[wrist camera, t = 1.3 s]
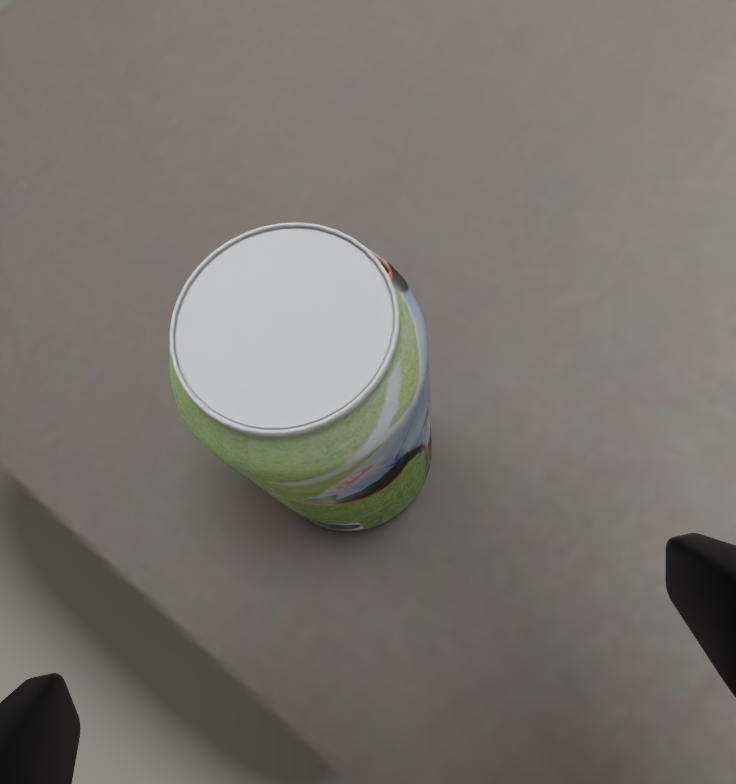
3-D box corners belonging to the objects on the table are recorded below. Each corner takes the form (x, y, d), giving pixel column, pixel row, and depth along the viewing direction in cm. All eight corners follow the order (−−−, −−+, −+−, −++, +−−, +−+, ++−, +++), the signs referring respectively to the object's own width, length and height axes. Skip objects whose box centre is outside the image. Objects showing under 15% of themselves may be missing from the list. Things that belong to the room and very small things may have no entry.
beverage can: (454, 429, 24) (516, 214, 14) (366, 602, 22) (358, 501, 11) (316, 364, 26) (274, 123, 15) (216, 518, 23) (76, 356, 12)
